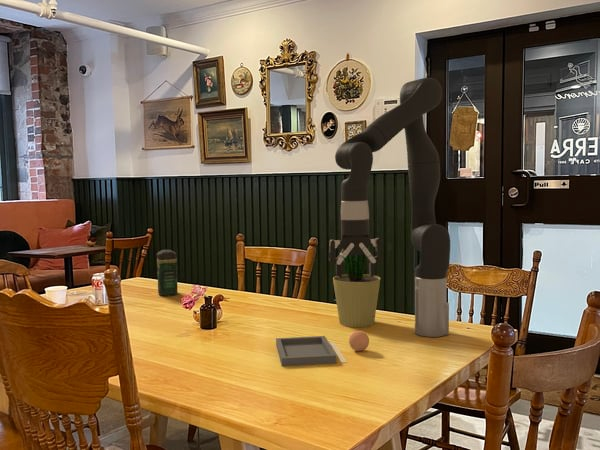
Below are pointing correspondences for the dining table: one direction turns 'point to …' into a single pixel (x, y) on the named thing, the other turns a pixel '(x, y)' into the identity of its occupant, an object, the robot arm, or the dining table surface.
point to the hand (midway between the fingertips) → (355, 277)
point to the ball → (359, 340)
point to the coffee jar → (167, 272)
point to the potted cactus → (356, 293)
